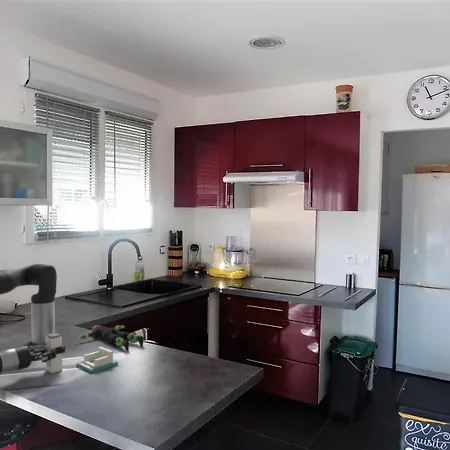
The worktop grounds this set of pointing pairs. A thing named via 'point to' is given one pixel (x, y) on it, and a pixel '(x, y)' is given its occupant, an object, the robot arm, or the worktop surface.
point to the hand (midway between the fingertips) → (61, 347)
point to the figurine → (114, 336)
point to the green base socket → (97, 360)
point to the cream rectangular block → (56, 363)
